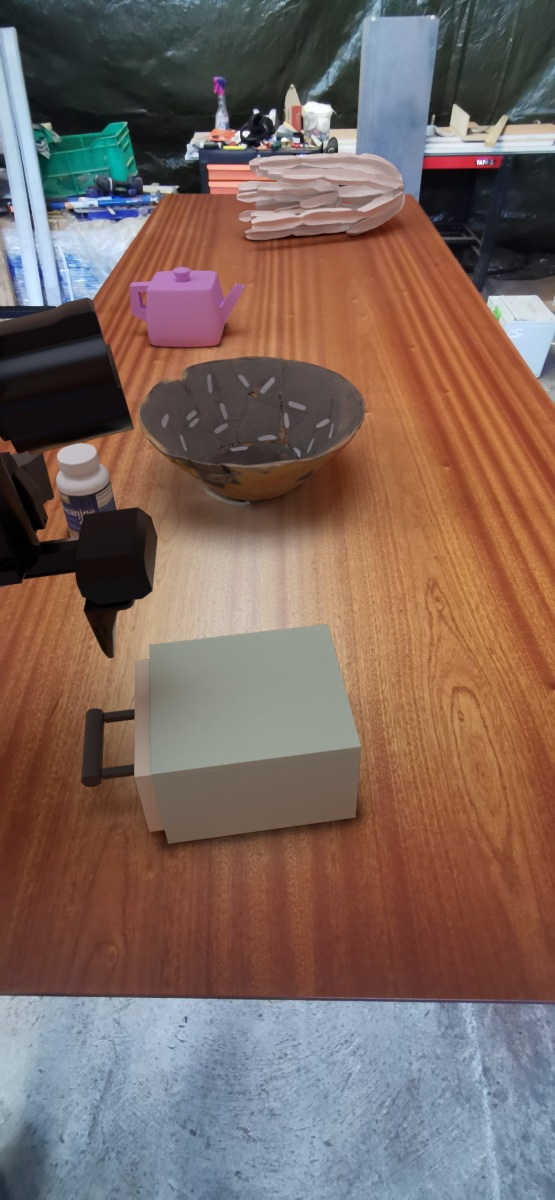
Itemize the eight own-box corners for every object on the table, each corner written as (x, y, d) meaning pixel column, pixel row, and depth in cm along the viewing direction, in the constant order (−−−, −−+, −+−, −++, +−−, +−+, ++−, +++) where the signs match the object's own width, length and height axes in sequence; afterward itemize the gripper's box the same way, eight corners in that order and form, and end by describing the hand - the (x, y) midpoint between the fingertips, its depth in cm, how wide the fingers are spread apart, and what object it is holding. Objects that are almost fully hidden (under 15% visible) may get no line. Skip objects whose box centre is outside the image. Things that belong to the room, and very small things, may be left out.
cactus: (388, 163, 160) (228, 171, 157) (414, 123, 143) (235, 131, 139) (393, 246, 163) (237, 256, 159) (420, 217, 146) (244, 227, 142)
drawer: (90, 840, 52) (69, 785, 47) (97, 723, 59) (79, 666, 55) (323, 808, 53) (324, 751, 49) (300, 698, 61) (299, 640, 56)
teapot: (249, 322, 122) (246, 256, 115) (243, 348, 114) (239, 280, 107) (142, 322, 123) (132, 257, 116) (129, 348, 115) (117, 281, 108)
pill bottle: (60, 540, 79) (38, 462, 73) (87, 512, 83) (69, 435, 76) (103, 551, 77) (84, 472, 71) (129, 522, 81) (113, 444, 75)
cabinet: (168, 844, 52) (150, 774, 47) (164, 716, 61) (149, 644, 55) (355, 818, 53) (361, 746, 48) (326, 696, 62) (328, 623, 56)
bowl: (324, 566, 75) (325, 483, 68) (110, 521, 81) (93, 441, 75) (385, 443, 92) (391, 367, 85) (205, 415, 99) (197, 342, 92)
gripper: (131, 375, 45) (184, 566, 56) (-164, 418, 46) (-56, 598, 56) (112, 479, 37) (179, 679, 48) (-246, 528, 38) (-101, 714, 48)
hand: (46, 661), depth 50 cm, fingers open, 9 cm apart
